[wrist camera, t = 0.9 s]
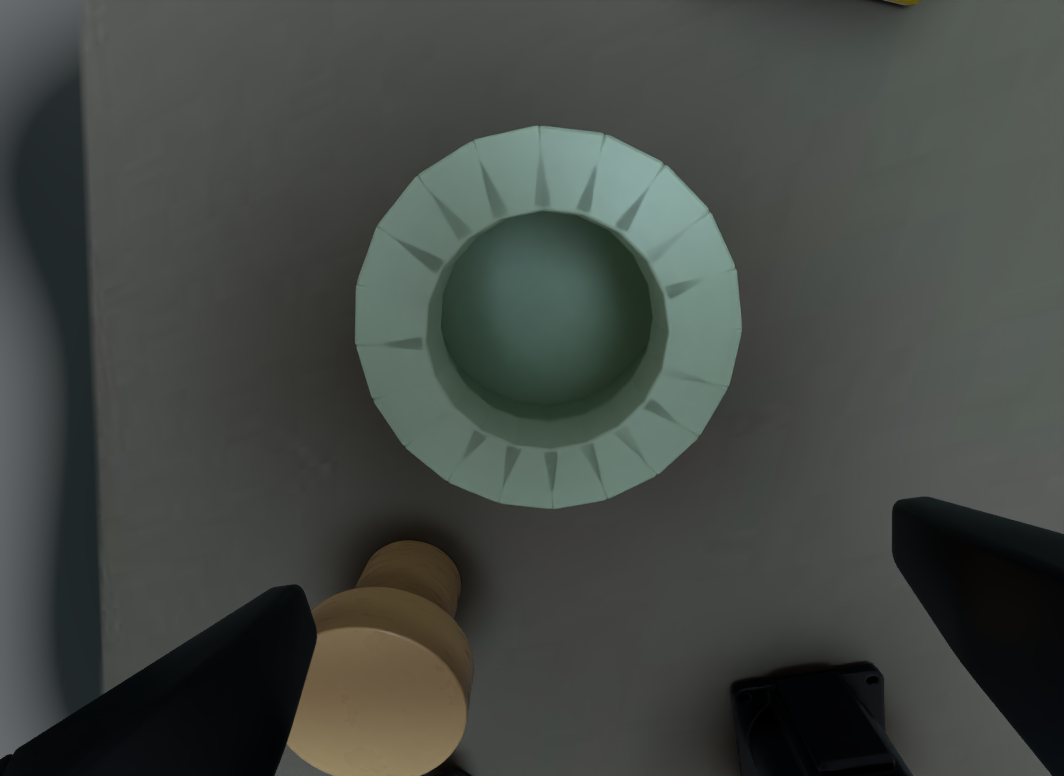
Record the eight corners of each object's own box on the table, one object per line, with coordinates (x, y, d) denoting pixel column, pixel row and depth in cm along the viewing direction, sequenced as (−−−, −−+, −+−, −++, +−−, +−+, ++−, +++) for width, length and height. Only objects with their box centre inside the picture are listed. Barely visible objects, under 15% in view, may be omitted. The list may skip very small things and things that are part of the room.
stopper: (501, 630, 25) (487, 771, 18) (363, 652, 25) (304, 796, 19) (467, 504, 23) (438, 613, 17) (319, 530, 23) (237, 644, 17)
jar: (684, 387, 21) (757, 475, 14) (455, 429, 22) (412, 534, 15) (651, 133, 19) (719, 82, 11) (392, 191, 19) (303, 178, 12)
